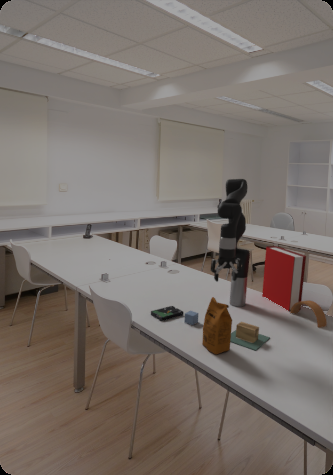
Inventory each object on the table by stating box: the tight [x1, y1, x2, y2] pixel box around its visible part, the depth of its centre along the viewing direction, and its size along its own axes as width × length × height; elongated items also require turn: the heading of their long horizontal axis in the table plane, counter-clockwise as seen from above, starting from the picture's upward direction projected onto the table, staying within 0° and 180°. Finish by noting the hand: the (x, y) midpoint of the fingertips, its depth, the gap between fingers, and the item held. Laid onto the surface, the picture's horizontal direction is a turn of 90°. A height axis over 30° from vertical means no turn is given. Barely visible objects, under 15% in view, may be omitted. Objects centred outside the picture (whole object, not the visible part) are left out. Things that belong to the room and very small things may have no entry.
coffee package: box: [201, 296, 233, 355], centre depth 155 cm, size 10×12×22 cm
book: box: [261, 245, 307, 312], centre depth 212 cm, size 27×8×32 cm, turn 20°
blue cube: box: [184, 310, 199, 326], centre depth 182 cm, size 5×5×5 cm
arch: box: [289, 300, 328, 329], centre depth 190 cm, size 6×20×10 cm, turn 24°
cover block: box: [235, 321, 260, 343], centre depth 165 cm, size 5×9×6 cm, turn 52°
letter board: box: [230, 329, 271, 352], centre depth 166 cm, size 16×16×1 cm
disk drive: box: [150, 305, 185, 322], centre depth 191 cm, size 10×3×15 cm
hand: (225, 280), depth 165 cm, fingers open, 8 cm apart
